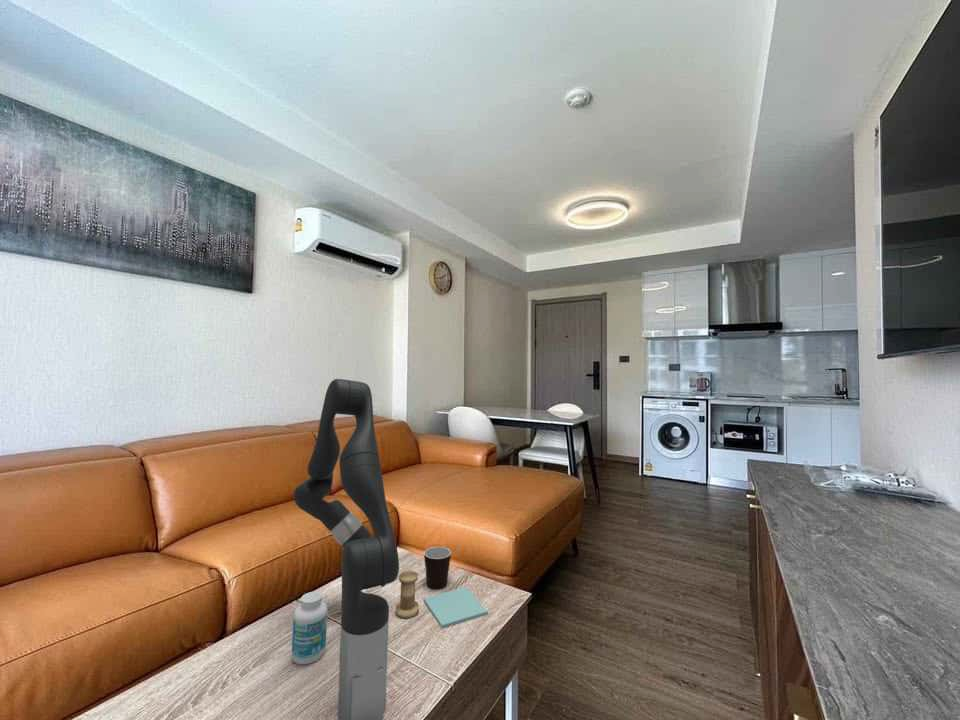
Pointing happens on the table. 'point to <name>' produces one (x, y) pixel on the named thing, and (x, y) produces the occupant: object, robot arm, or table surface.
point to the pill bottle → (309, 629)
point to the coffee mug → (437, 567)
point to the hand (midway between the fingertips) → (389, 576)
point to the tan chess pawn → (407, 596)
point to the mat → (454, 607)
